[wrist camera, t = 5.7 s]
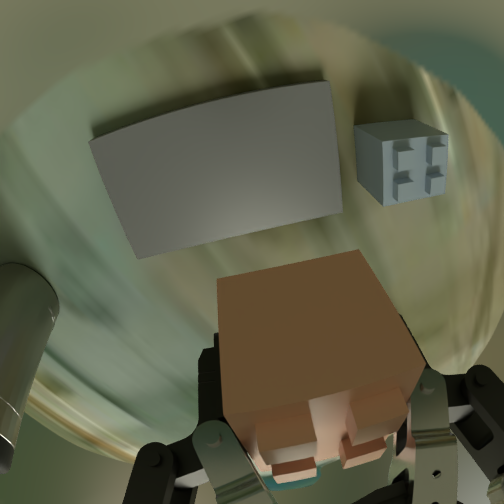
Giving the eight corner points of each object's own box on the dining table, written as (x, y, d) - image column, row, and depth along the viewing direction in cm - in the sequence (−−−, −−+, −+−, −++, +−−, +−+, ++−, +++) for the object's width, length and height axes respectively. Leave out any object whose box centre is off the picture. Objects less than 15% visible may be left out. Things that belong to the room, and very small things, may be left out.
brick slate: (357, 180, 25) (388, 211, 21) (353, 125, 23) (388, 145, 18) (413, 170, 25) (450, 198, 21) (413, 119, 22) (454, 137, 18)
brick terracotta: (351, 350, 14) (389, 458, 9) (248, 373, 14) (263, 489, 9) (358, 249, 10) (439, 388, 6) (216, 279, 11) (225, 445, 6)
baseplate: (140, 251, 27) (137, 259, 26) (93, 137, 21) (88, 141, 20) (337, 205, 26) (342, 212, 26) (324, 79, 20) (329, 81, 19)
